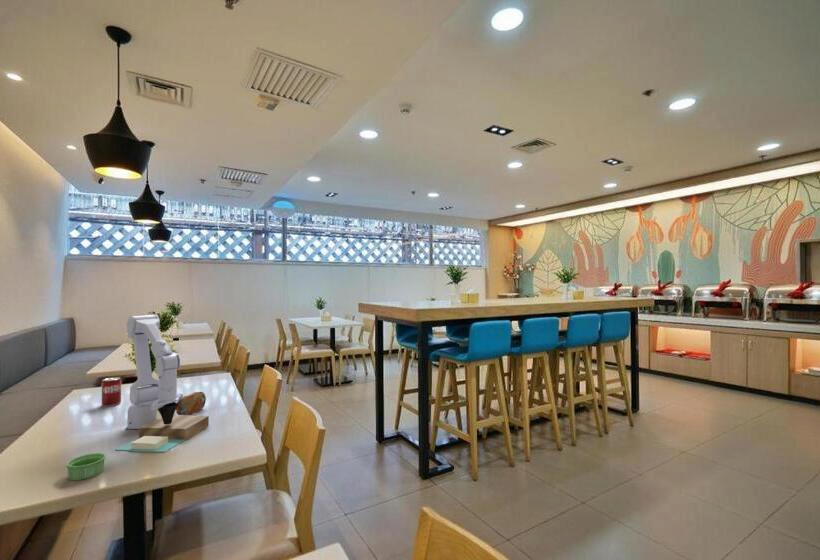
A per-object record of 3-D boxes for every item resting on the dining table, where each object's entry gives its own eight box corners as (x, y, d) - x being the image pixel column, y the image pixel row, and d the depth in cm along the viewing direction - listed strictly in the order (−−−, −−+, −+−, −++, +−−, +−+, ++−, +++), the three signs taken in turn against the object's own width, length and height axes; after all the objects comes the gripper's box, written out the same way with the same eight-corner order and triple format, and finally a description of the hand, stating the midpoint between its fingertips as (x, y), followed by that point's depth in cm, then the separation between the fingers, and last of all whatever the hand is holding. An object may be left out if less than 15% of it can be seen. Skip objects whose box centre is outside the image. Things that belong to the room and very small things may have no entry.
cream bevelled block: (144, 435, 139) (144, 441, 139) (131, 442, 133) (131, 448, 133) (168, 436, 138) (168, 442, 138) (155, 443, 132) (155, 449, 132)
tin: (180, 419, 162) (180, 399, 162) (174, 418, 163) (174, 398, 163) (206, 408, 177) (206, 389, 177) (200, 407, 178) (200, 389, 178)
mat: (115, 450, 132) (115, 449, 132) (138, 438, 142) (138, 437, 142) (164, 452, 130) (164, 451, 130) (184, 440, 140) (184, 439, 140)
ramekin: (112, 466, 121) (112, 451, 121) (93, 480, 112) (93, 465, 112) (80, 468, 120) (80, 453, 120) (58, 483, 111) (58, 467, 111)
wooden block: (138, 438, 142) (138, 427, 142) (166, 424, 156) (166, 414, 156) (185, 440, 141) (185, 429, 141) (208, 425, 155) (208, 415, 155)
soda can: (123, 403, 183) (124, 378, 183) (105, 407, 177) (105, 381, 177) (117, 401, 187) (117, 376, 187) (98, 405, 181) (99, 379, 181)
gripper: (163, 393, 137) (163, 431, 137) (190, 382, 151) (190, 417, 151) (145, 392, 138) (144, 430, 137) (173, 382, 152) (173, 416, 152)
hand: (167, 423), depth 144 cm, fingers closed
